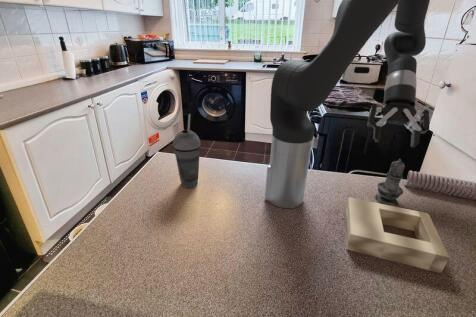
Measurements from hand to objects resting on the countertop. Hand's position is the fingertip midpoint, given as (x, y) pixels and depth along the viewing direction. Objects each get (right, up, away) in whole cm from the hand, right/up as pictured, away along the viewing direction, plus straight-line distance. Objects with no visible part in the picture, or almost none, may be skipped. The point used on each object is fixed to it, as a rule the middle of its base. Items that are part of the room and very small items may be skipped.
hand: (395, 143), depth 68 cm
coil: (+14, -13, +4) cm, 20 cm away
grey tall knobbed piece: (-3, -15, -1) cm, 15 cm away
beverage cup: (-55, -11, +4) cm, 56 cm away
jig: (-10, -21, -13) cm, 27 cm away
